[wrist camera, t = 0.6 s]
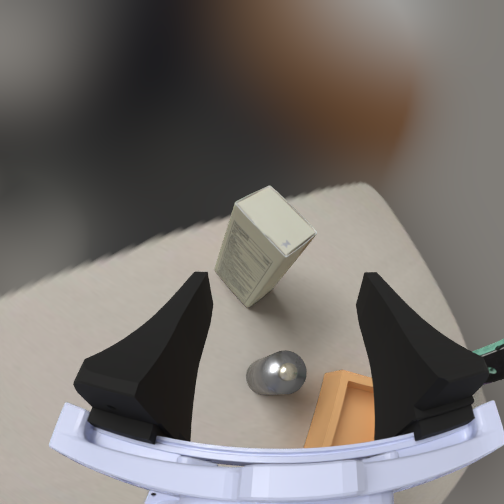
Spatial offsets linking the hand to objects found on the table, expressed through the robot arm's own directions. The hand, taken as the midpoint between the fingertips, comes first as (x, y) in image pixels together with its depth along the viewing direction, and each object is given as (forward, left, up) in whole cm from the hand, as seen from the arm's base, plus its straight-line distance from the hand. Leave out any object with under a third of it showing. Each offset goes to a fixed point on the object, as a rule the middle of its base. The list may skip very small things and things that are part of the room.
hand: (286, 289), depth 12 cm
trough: (-6, -17, -18) cm, 26 cm away
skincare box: (+9, +1, -18) cm, 20 cm away
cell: (-1, -5, -18) cm, 19 cm away
